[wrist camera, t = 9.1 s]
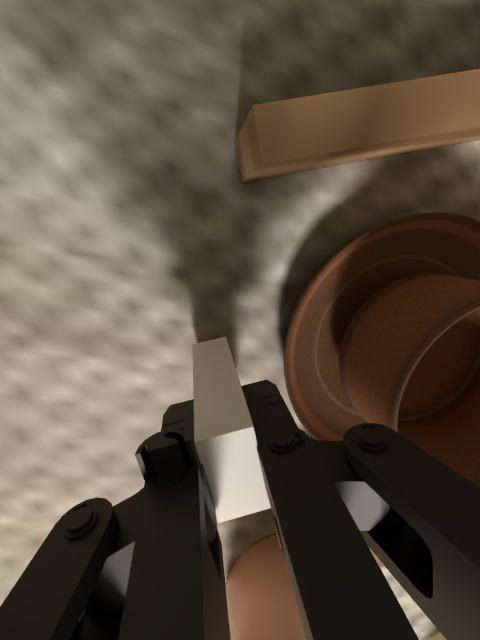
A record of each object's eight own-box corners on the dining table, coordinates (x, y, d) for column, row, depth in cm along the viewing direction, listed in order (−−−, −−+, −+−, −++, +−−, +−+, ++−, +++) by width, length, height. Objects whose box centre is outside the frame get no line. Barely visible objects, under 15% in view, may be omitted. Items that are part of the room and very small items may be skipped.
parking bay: (235, 141, 13) (253, 104, 9) (566, 85, 14) (709, 32, 10) (294, 509, 18) (321, 584, 14) (524, 448, 19) (604, 502, 16)
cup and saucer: (374, 157, 14) (509, 106, 8) (541, 297, 17) (727, 336, 11) (227, 383, 16) (247, 477, 10) (400, 469, 19) (494, 580, 13)
